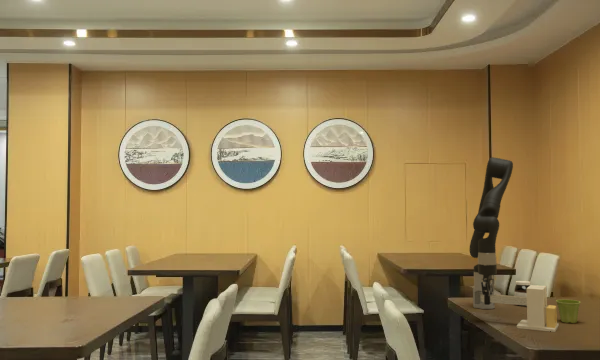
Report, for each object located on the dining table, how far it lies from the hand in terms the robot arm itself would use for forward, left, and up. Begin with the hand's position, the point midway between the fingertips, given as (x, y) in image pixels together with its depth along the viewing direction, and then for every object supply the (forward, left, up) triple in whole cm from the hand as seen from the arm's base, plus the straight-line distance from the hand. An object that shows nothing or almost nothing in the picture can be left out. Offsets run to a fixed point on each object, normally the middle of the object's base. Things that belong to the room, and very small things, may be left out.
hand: (488, 303), depth 226 cm
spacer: (+25, 0, -3) cm, 25 cm away
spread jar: (+8, +49, -8) cm, 50 cm away
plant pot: (+29, +17, -8) cm, 35 cm away
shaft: (+7, 0, 0) cm, 7 cm away
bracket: (+19, 0, -8) cm, 21 cm away
